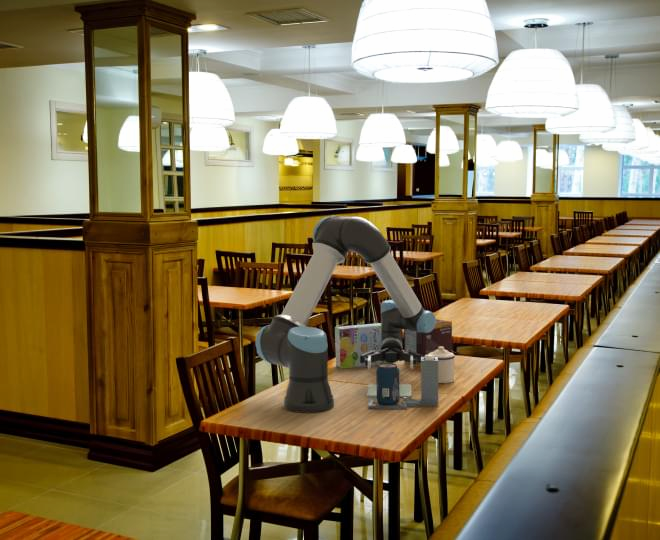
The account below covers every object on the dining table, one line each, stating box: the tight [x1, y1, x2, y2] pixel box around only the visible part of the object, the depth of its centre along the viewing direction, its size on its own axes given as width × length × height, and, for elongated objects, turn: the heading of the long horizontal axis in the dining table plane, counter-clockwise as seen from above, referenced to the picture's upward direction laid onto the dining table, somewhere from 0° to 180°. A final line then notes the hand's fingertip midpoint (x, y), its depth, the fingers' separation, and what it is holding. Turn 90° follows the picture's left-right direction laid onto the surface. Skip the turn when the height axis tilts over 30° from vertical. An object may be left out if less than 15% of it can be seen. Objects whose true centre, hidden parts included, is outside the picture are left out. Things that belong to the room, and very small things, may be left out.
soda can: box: [375, 363, 401, 405], centre depth 231 cm, size 7×7×12 cm
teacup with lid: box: [420, 346, 456, 384], centre depth 258 cm, size 12×9×12 cm
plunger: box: [425, 355, 434, 360], centre depth 229 cm, size 3×3×6 cm
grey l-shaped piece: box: [367, 357, 439, 410], centre depth 229 cm, size 9×21×14 cm, turn 84°
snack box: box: [334, 322, 388, 370], centre depth 282 cm, size 21×6×15 cm, turn 108°
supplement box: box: [403, 318, 453, 368], centre depth 284 cm, size 10×15×16 cm
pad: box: [365, 383, 412, 399], centre depth 245 cm, size 14×14×1 cm
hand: (390, 364), depth 241 cm, fingers open, 13 cm apart
